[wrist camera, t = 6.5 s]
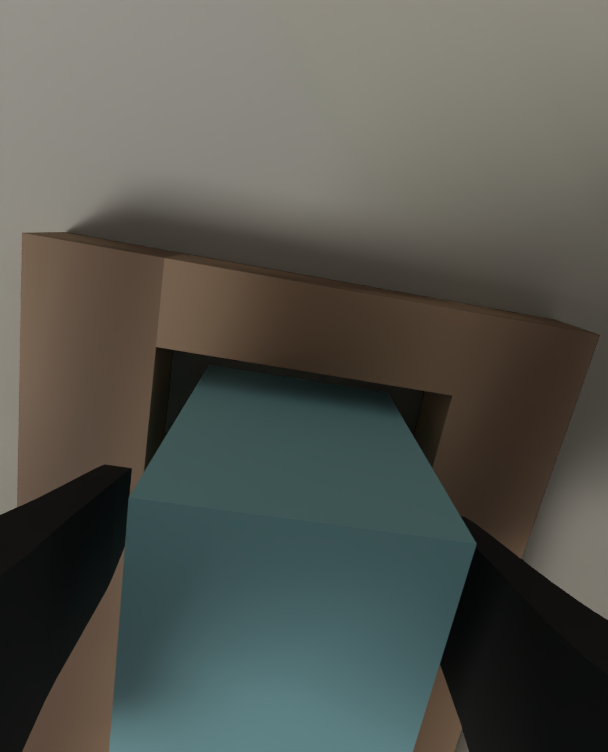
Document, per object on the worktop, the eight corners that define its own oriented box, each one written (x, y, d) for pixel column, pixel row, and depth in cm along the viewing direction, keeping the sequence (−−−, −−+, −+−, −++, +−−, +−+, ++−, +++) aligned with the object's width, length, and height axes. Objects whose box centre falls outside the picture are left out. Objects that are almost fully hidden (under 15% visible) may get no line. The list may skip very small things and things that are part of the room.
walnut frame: (555, 319, 13) (599, 335, 11) (390, 833, 19) (401, 901, 17) (63, 232, 12) (21, 232, 11) (40, 799, 18) (10, 867, 16)
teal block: (387, 391, 14) (476, 544, 7) (353, 544, 15) (401, 790, 9) (209, 364, 14) (128, 497, 7) (190, 522, 15) (108, 762, 8)
